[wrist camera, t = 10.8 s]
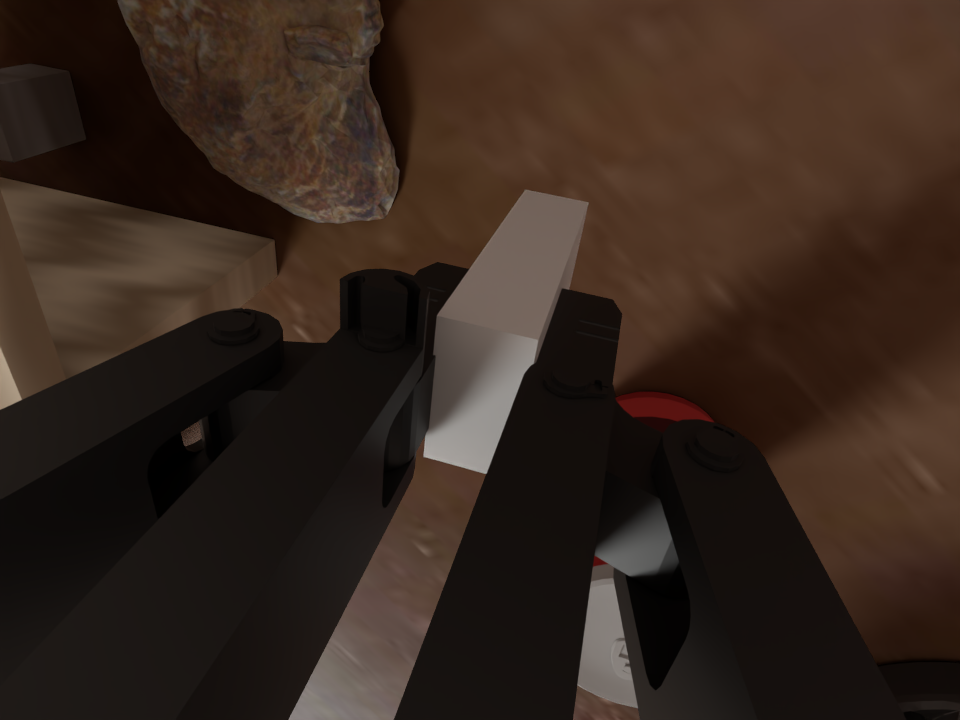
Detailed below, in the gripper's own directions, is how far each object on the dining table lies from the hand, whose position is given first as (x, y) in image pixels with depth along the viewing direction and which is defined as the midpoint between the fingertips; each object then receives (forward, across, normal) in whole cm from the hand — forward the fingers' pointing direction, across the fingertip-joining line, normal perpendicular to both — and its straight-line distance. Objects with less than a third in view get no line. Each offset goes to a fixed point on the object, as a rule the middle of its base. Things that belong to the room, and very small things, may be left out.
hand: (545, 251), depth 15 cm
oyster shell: (+11, +12, -1) cm, 16 cm away
